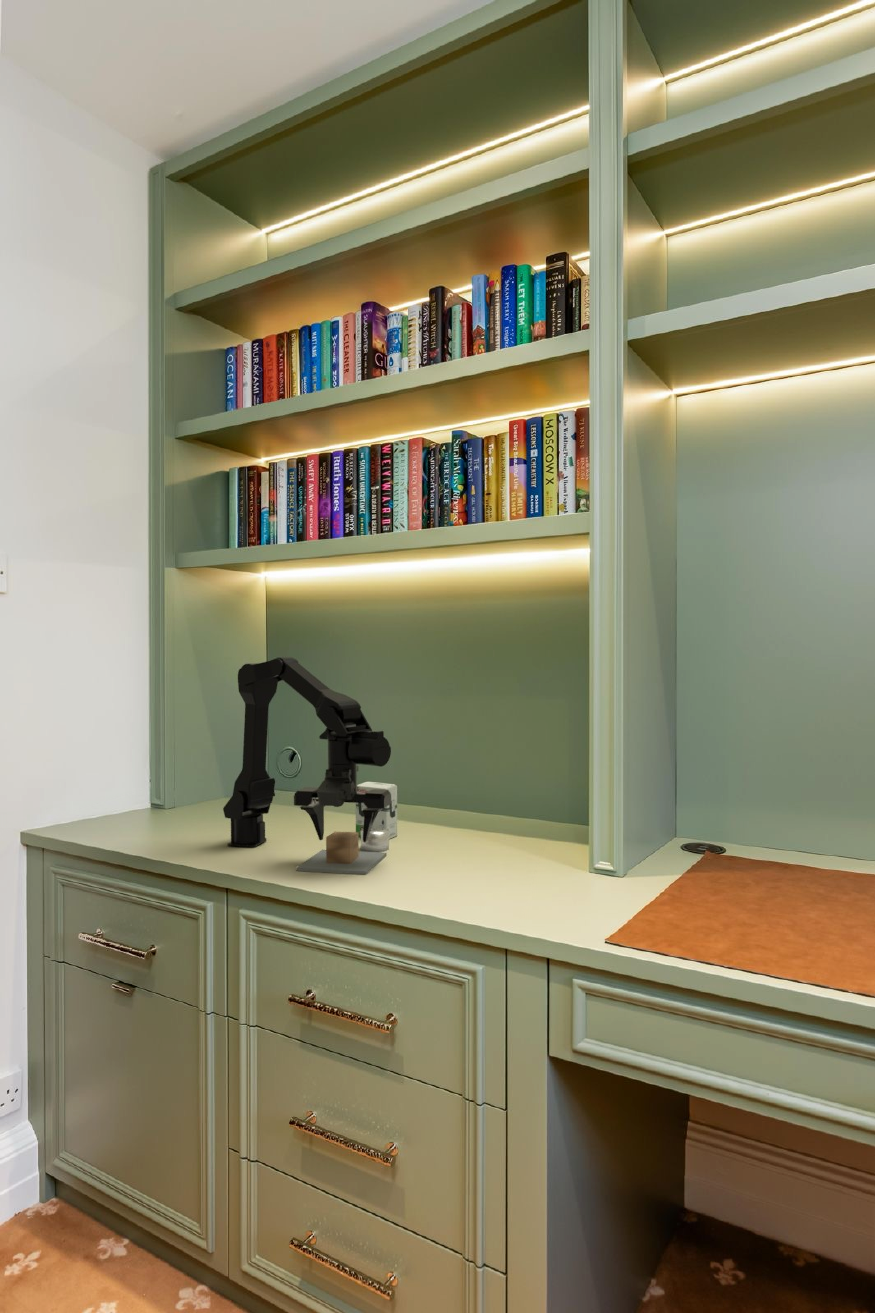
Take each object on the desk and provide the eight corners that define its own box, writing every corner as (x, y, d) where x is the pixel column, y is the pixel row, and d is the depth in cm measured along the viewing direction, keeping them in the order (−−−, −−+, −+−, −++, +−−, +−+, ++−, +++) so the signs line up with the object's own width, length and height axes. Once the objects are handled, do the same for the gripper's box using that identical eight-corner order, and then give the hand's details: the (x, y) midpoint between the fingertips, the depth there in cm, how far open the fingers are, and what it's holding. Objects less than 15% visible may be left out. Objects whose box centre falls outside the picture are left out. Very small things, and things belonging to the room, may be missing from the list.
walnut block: (326, 862, 157) (326, 837, 157) (335, 856, 162) (334, 831, 162) (350, 863, 156) (350, 838, 156) (358, 857, 161) (358, 832, 161)
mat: (296, 870, 154) (296, 867, 154) (322, 852, 167) (322, 849, 167) (365, 874, 151) (365, 871, 151) (386, 855, 164) (386, 852, 164)
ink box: (354, 836, 181) (353, 784, 181) (366, 832, 186) (365, 781, 186) (387, 840, 177) (386, 787, 177) (398, 835, 182) (398, 783, 181)
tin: (357, 852, 168) (356, 833, 168) (365, 845, 174) (365, 826, 174) (384, 853, 166) (384, 834, 166) (392, 846, 172) (392, 828, 172)
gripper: (282, 767, 153) (282, 848, 153) (375, 769, 149) (376, 853, 149) (304, 759, 164) (304, 835, 164) (391, 761, 160) (392, 839, 160)
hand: (343, 840), depth 159 cm, fingers open, 9 cm apart
